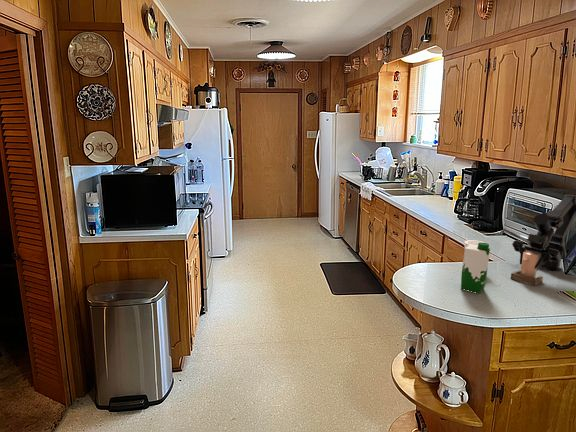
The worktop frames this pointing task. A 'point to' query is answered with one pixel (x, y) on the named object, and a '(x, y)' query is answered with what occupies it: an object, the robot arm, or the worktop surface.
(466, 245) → the foam cup
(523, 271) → the jug
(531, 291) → the worktop surface
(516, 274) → the jug cradle
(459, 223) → the worktop surface
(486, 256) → the milk carton
